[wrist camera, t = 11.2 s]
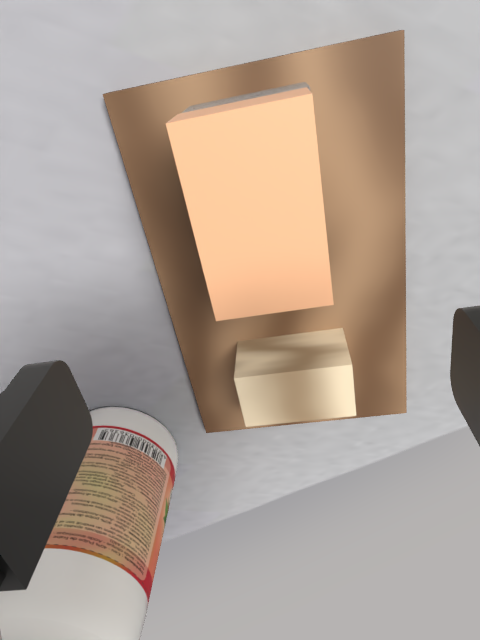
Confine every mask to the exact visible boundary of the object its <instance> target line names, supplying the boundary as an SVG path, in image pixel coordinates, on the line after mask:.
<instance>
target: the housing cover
mask: <svg viewBox="0 0 480 640" xmlns="http://www.w3.org/2000/svg"><path fill="white" fill-rule="evenodd" d="M166 127H167V131H168V135H169V139H170V143H171V147H172V151H173V154H174V158H175V162H176V166H177V170H178V174H179V178H180V182H181V186H182V190H183V194H184V198H185V202H186V206H187V209H188V213H189V217H190V221H191V225H192V229H193V233H194V237H195V241H196V245H197V249H198V253H199V257H200V260H201V264H202V268H203V272H204V276H205V280H206V284H207V288H208V292H209V296H210V300H211V304H212V308H213V312H214V315H215V319H216V321H221V320H228V319H236V318H243V317H250V316H257V315H264V314H272V313H279V312H286V311H293V310H301V309H308V308H315V307H322V306H329V305H334V302H333V292H332V283H331V273H330V263H329V253H328V243H327V233H326V223H325V213H324V204H323V194H322V184H321V174H320V164H319V154H318V144H317V134H316V124H315V115H314V105H313V95H312V92H311V91H310V90H309V89H308V88H307V87H305V88H300V89H295V90H291V91H286V92H281V93H276V94H271V95H266V96H262V97H257V98H252V99H247V100H242V101H237V102H233V103H228V104H223V105H218V106H213V107H209V108H204V109H199V110H194V111H189V112H184V113H180V114H177V115H176V116H175V117H173V118H172V119H171V120H169V121H168V122H167V123H166Z"/></svg>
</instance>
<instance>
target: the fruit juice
mask: <svg viewBox="0 0 480 640" xmlns="http://www.w3.org/2000/svg"><path fill="white" fill-rule="evenodd" d="M90 414H91V418H92V424H93V434H92V439H91V443H90V445H89V448H88V450H87V452H86V454H85V457H84V459H83V461H82V464H81V466H80V468H79V470H78V473H77V475H76V477H75V480H74V482H73V484H72V486H71V489H70V491H69V493H68V496H67V498H66V500H65V502H64V505H63V507H62V509H61V512H60V514H59V516H58V518H57V521H56V523H55V525H54V528H53V530H52V532H51V534H50V537H49V539H48V541H47V544H46V546H45V548H44V550H43V553H42V555H41V557H40V560H39V562H38V564H37V566H36V569H35V571H34V573H33V576H32V578H31V580H30V582H29V585H28V587H27V589H26V590H15V591H0V631H1V636H2V640H140V637H141V633H142V629H143V625H144V621H145V617H146V613H147V608H148V602H149V597H150V592H151V587H152V582H153V578H154V574H155V569H156V564H157V560H158V555H159V550H160V546H161V541H162V537H163V532H164V527H165V523H166V518H167V513H168V509H169V504H170V499H171V495H172V490H173V486H174V481H175V476H176V472H177V466H178V451H177V446H176V443H175V441H174V438H173V437H172V435H171V434H170V432H169V431H168V430H167V429H166V428H165V427H164V426H163V425H162V424H161V423H160V422H159V421H157V420H156V419H154V418H153V417H151V416H149V415H147V414H145V413H142V412H140V411H137V410H133V409H129V408H123V407H104V408H99V409H95V410H92V411H90Z"/></svg>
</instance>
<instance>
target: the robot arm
mask: <svg viewBox="0 0 480 640" xmlns="http://www.w3.org/2000/svg"><path fill="white" fill-rule="evenodd" d="M450 377H451V386H452V391H453V395H454V398H455V401H456V403H457V405H458V407H459V409H460V411H461V413H462V415H463V416H464V418H465V420H466V422H467V424H468V426H469V427H470V429H471V431H472V433H473V435H474V437H475V438H476V440H477V442H478V444H479V446H480V306H474V307H466V308H459V309H457V310H456V311H455V314H454V319H453V335H452V353H451V370H450ZM92 434H93V424H92V418H91V414H90V412H89V410H88V408H87V405H86V403H85V401H84V399H83V397H82V394H81V392H80V390H79V388H78V386H77V384H76V381H75V379H74V377H73V375H72V373H71V371H70V369H69V367H68V365H67V364H66V363H65V362H63V361H61V360H58V361H51V362H43V363H35V364H28V365H25V366H23V367H22V368H21V369H20V371H19V372H18V373H17V375H16V376H15V377H14V379H13V380H12V381H11V383H10V384H9V385H8V387H7V388H6V389H5V391H3V392H2V393H1V394H0V591H15V590H26V589H27V587H28V585H29V582H30V580H31V578H32V576H33V573H34V571H35V569H36V566H37V564H38V562H39V560H40V557H41V555H42V553H43V550H44V548H45V546H46V544H47V541H48V539H49V537H50V534H51V532H52V530H53V528H54V525H55V523H56V521H57V518H58V516H59V514H60V512H61V509H62V507H63V505H64V502H65V500H66V498H67V496H68V493H69V491H70V489H71V486H72V484H73V482H74V480H75V477H76V475H77V473H78V470H79V468H80V466H81V464H82V461H83V459H84V457H85V454H86V452H87V450H88V448H89V445H90V443H91V439H92ZM0 640H2V636H1V631H0Z"/></svg>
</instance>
